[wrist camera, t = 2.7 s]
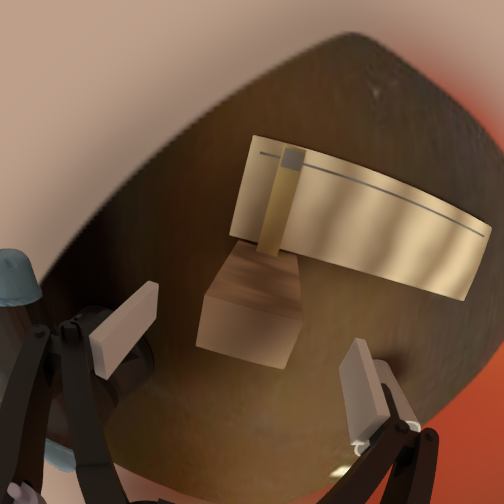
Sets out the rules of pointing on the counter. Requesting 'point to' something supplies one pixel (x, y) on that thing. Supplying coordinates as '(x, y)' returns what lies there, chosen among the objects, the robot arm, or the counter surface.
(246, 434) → the counter surface
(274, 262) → the gauge
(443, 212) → the board
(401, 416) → the cup
